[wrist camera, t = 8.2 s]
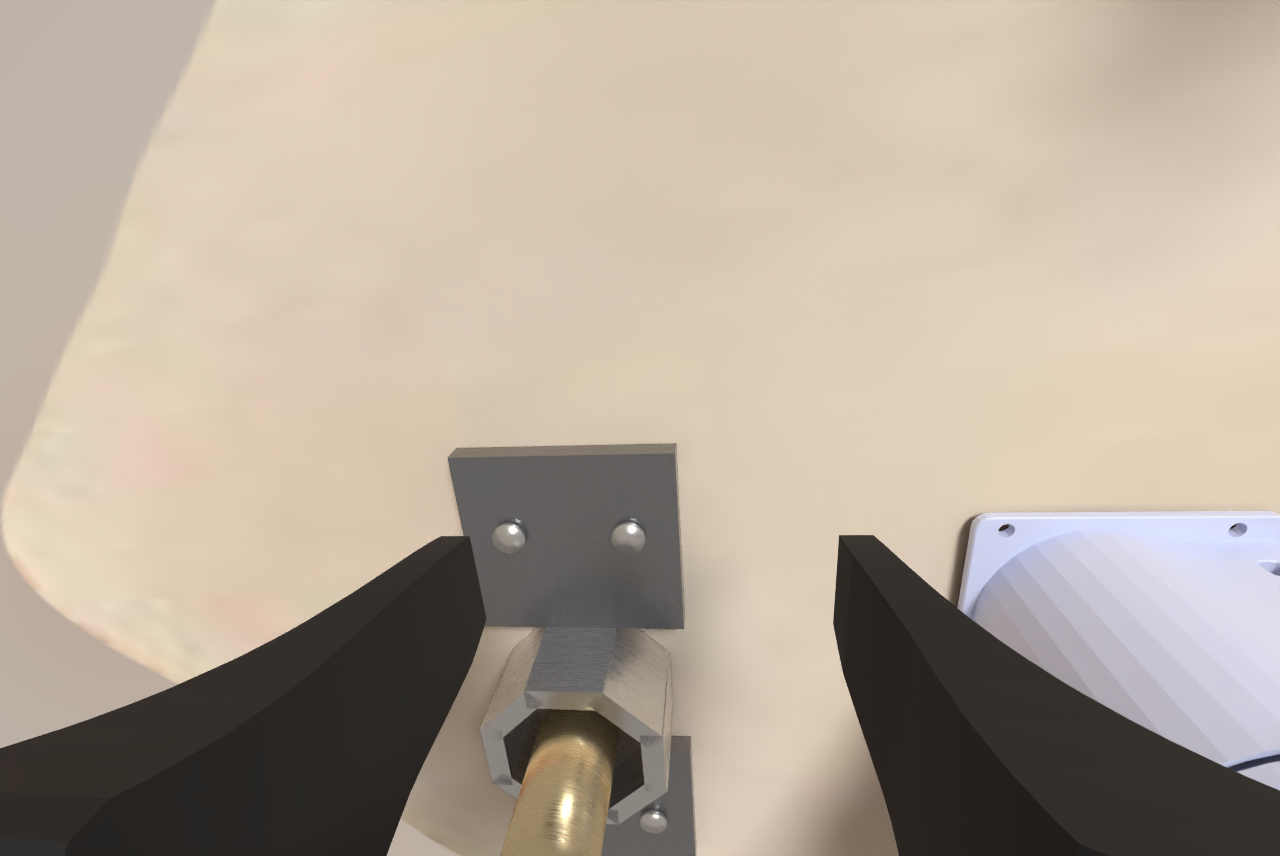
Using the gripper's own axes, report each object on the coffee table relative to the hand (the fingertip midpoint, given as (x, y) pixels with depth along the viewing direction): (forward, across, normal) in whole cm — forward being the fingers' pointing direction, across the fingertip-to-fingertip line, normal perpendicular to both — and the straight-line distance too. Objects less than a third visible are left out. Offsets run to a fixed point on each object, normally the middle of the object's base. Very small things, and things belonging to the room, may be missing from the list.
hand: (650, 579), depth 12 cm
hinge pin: (+9, +4, +12) cm, 16 cm away
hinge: (+9, +4, +12) cm, 16 cm away
